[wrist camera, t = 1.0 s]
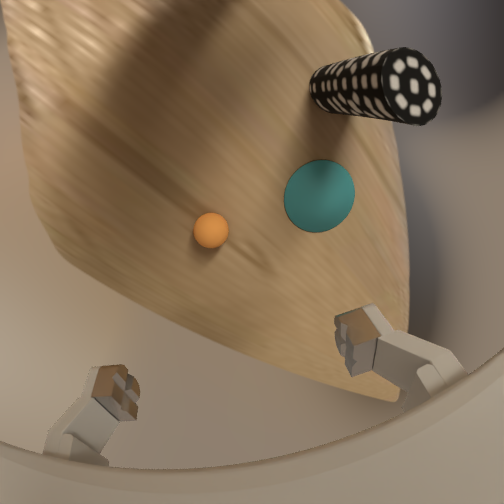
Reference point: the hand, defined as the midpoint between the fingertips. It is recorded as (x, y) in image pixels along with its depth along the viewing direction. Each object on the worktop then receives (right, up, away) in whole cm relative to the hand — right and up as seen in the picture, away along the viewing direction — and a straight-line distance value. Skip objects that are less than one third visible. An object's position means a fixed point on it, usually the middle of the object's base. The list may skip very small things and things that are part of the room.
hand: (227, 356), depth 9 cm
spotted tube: (+14, +29, +27) cm, 43 cm away
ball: (-5, +7, +33) cm, 35 cm away
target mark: (+13, +13, +36) cm, 40 cm away
